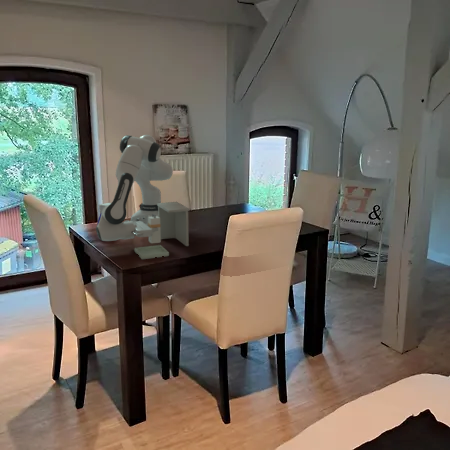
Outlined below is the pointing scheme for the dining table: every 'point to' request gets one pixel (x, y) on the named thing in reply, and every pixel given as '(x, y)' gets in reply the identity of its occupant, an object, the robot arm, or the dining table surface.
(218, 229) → the dining table surface
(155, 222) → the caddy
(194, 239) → the dining table surface
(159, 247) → the tray
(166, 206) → the bay
